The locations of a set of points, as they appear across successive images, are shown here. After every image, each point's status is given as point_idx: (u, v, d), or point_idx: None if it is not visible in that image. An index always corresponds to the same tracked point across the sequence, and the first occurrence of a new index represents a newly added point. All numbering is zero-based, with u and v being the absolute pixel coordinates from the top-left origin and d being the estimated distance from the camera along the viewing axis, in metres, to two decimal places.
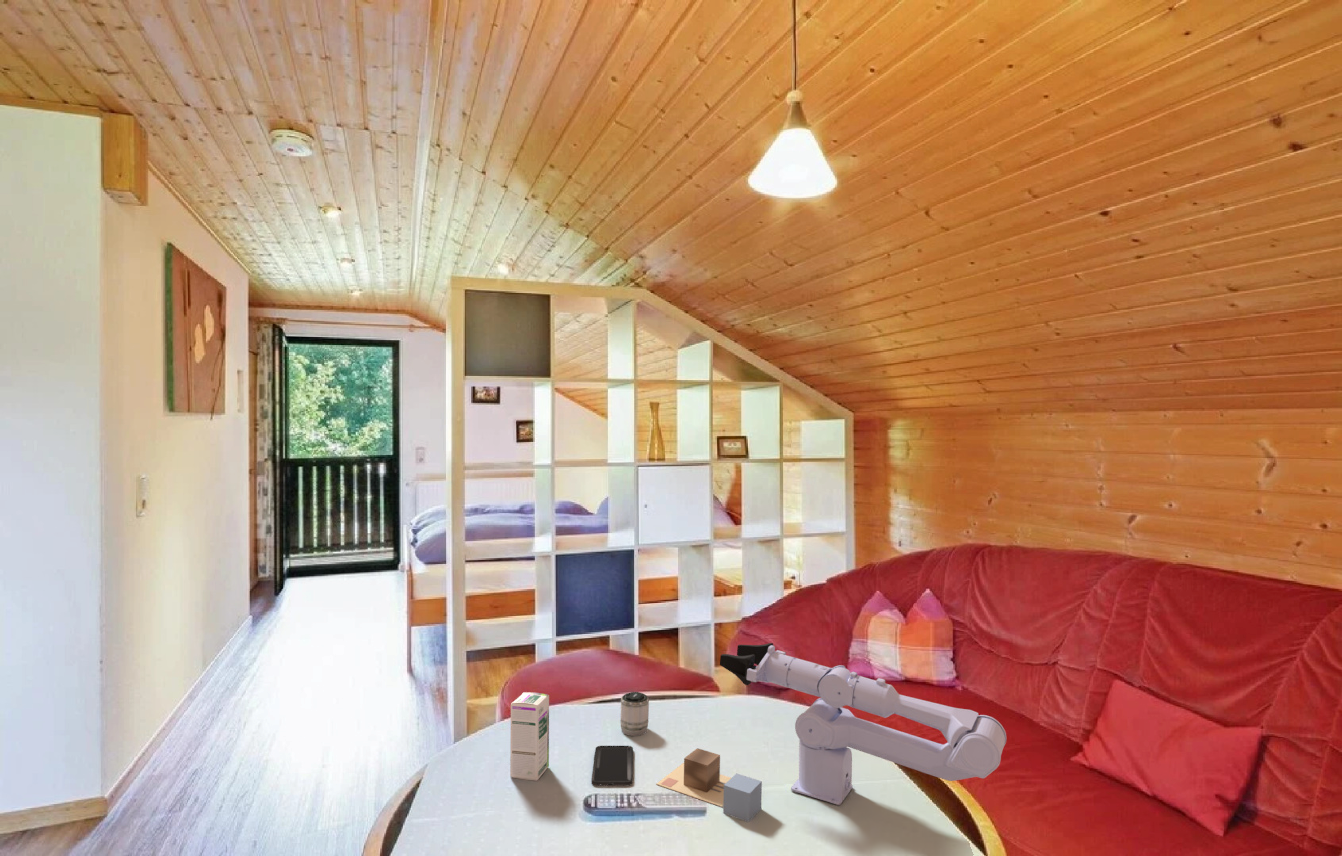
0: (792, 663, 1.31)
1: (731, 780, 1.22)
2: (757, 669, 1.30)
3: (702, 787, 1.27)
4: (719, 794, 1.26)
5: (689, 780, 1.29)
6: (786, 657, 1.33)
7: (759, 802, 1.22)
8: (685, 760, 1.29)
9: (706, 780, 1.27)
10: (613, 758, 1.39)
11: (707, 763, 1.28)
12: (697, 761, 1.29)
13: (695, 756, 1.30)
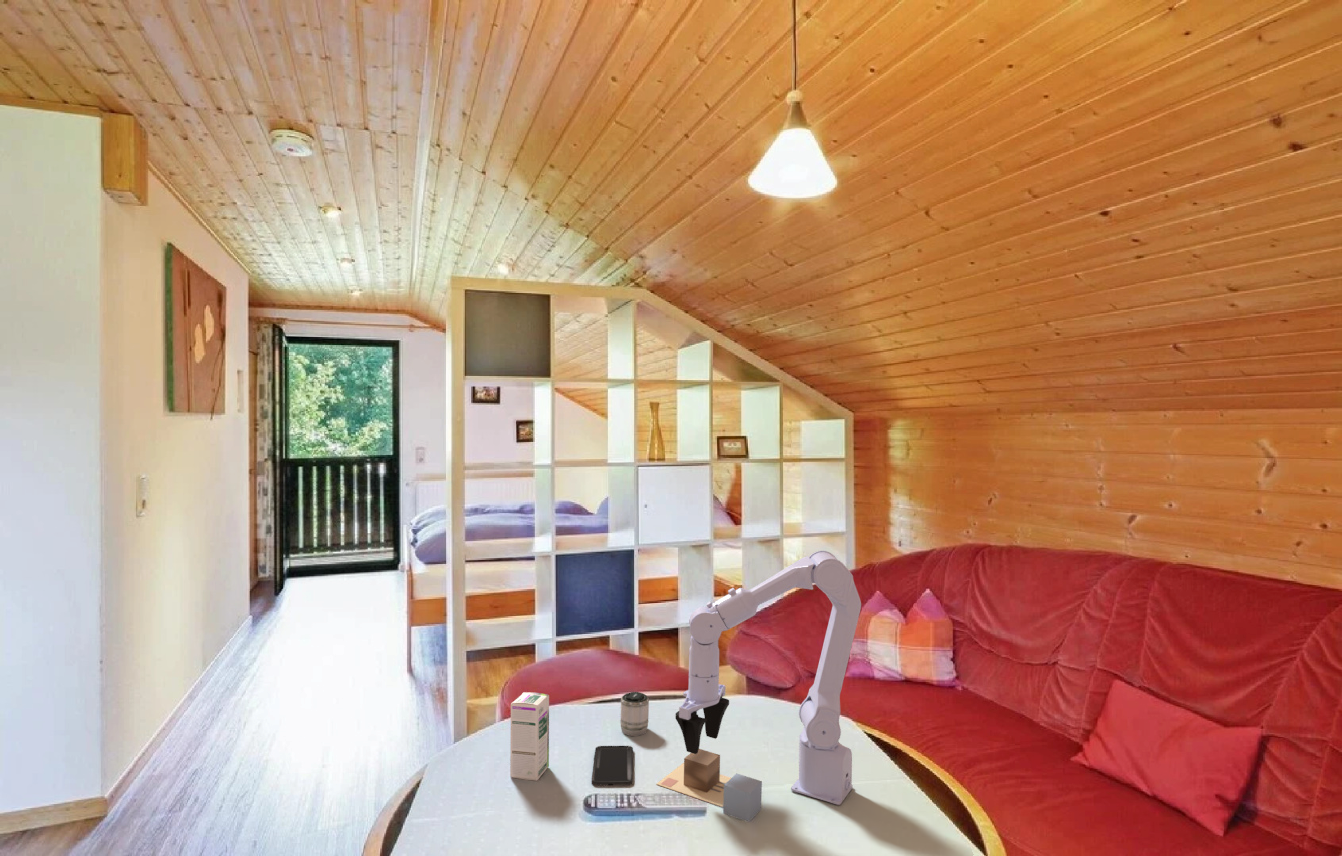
0: (691, 672, 1.29)
1: (731, 780, 1.22)
2: None
3: (702, 787, 1.27)
4: (719, 794, 1.26)
5: (689, 780, 1.29)
6: None
7: (759, 802, 1.22)
8: (685, 760, 1.29)
9: (706, 780, 1.27)
10: (613, 758, 1.39)
11: (707, 763, 1.28)
12: (697, 761, 1.29)
13: (695, 756, 1.30)
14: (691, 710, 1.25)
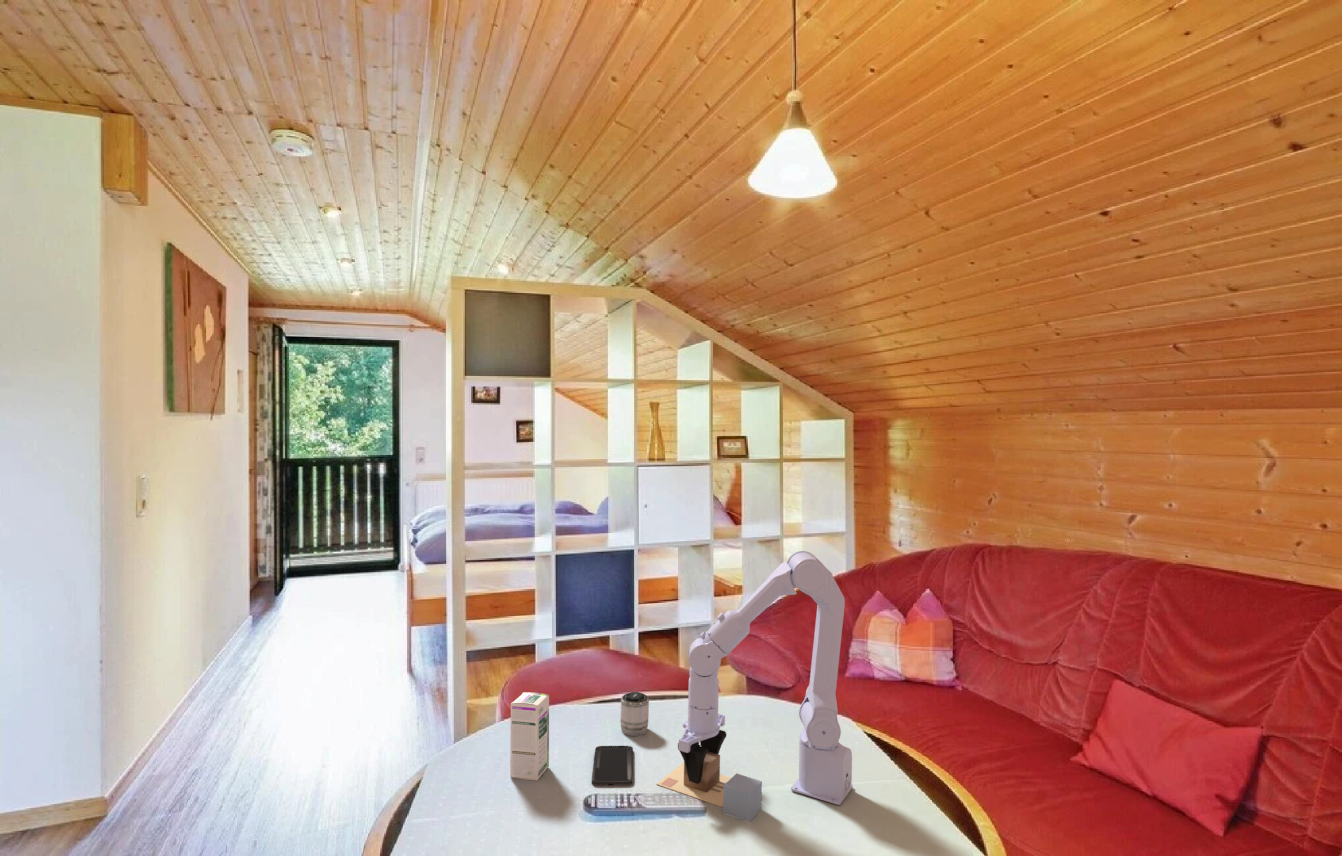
0: (690, 704, 1.29)
1: (731, 780, 1.22)
2: None
3: (702, 787, 1.27)
4: (719, 794, 1.26)
5: None
6: None
7: (759, 802, 1.22)
8: None
9: (706, 780, 1.27)
10: (613, 758, 1.39)
11: (707, 763, 1.28)
12: None
13: None
14: (690, 743, 1.25)
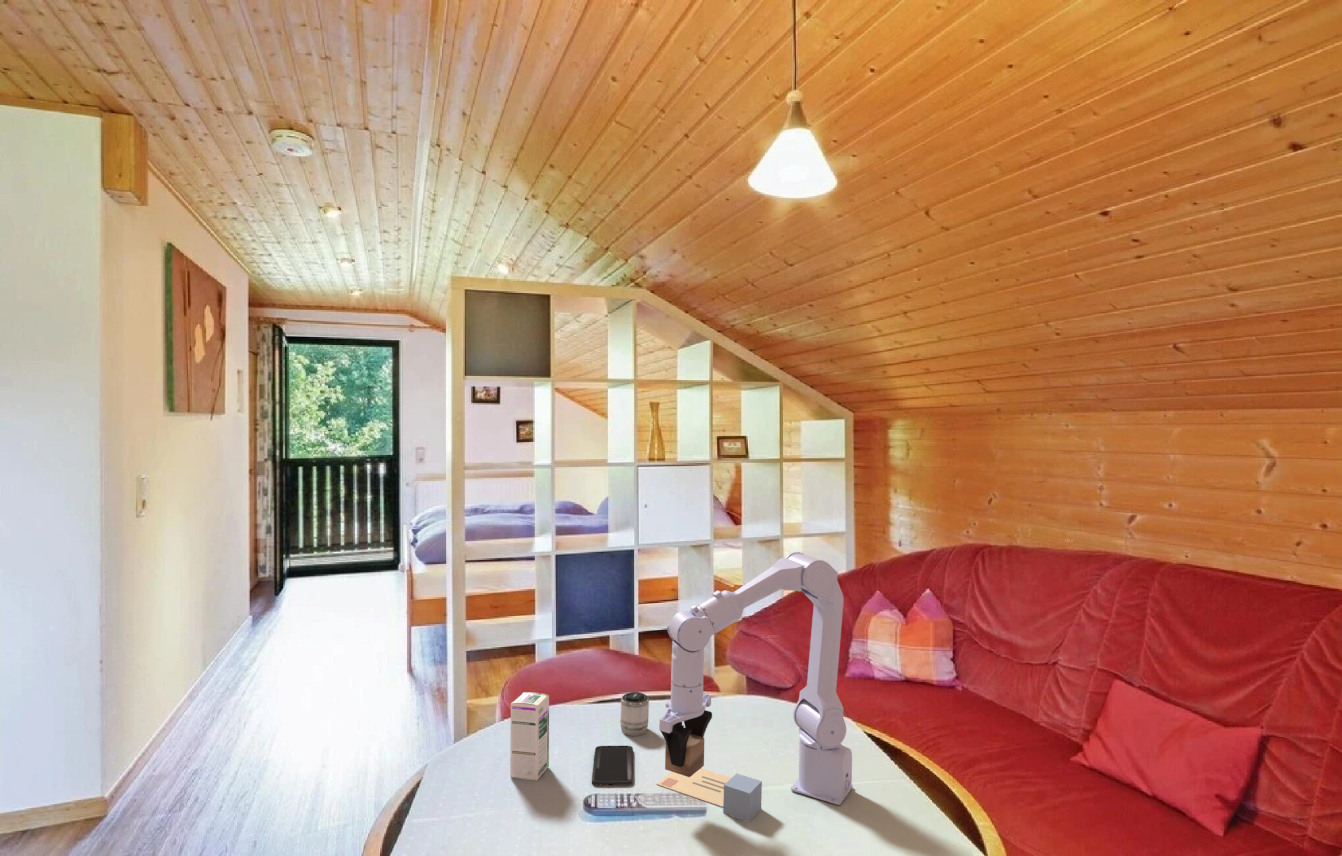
0: (677, 683, 1.19)
1: (731, 780, 1.22)
2: None
3: (684, 772, 1.19)
4: (719, 794, 1.26)
5: (671, 764, 1.20)
6: None
7: (759, 802, 1.22)
8: None
9: (689, 764, 1.18)
10: (613, 758, 1.39)
11: (690, 746, 1.19)
12: None
13: None
14: (672, 723, 1.16)
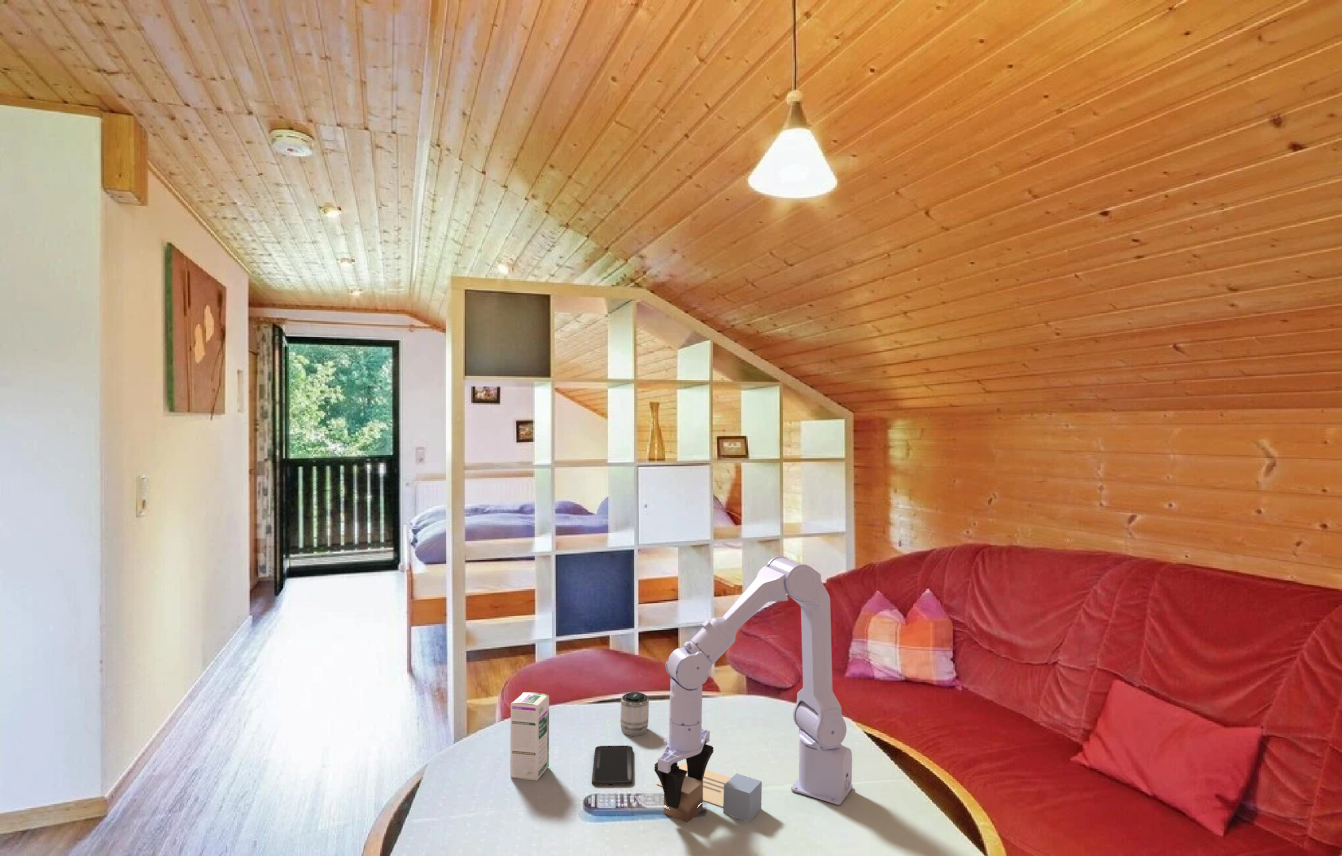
0: (675, 721, 1.19)
1: (731, 780, 1.22)
2: None
3: (683, 817, 1.18)
4: (719, 794, 1.26)
5: None
6: None
7: (759, 802, 1.22)
8: None
9: (687, 810, 1.18)
10: (612, 758, 1.39)
11: (688, 791, 1.18)
12: None
13: None
14: (671, 762, 1.15)
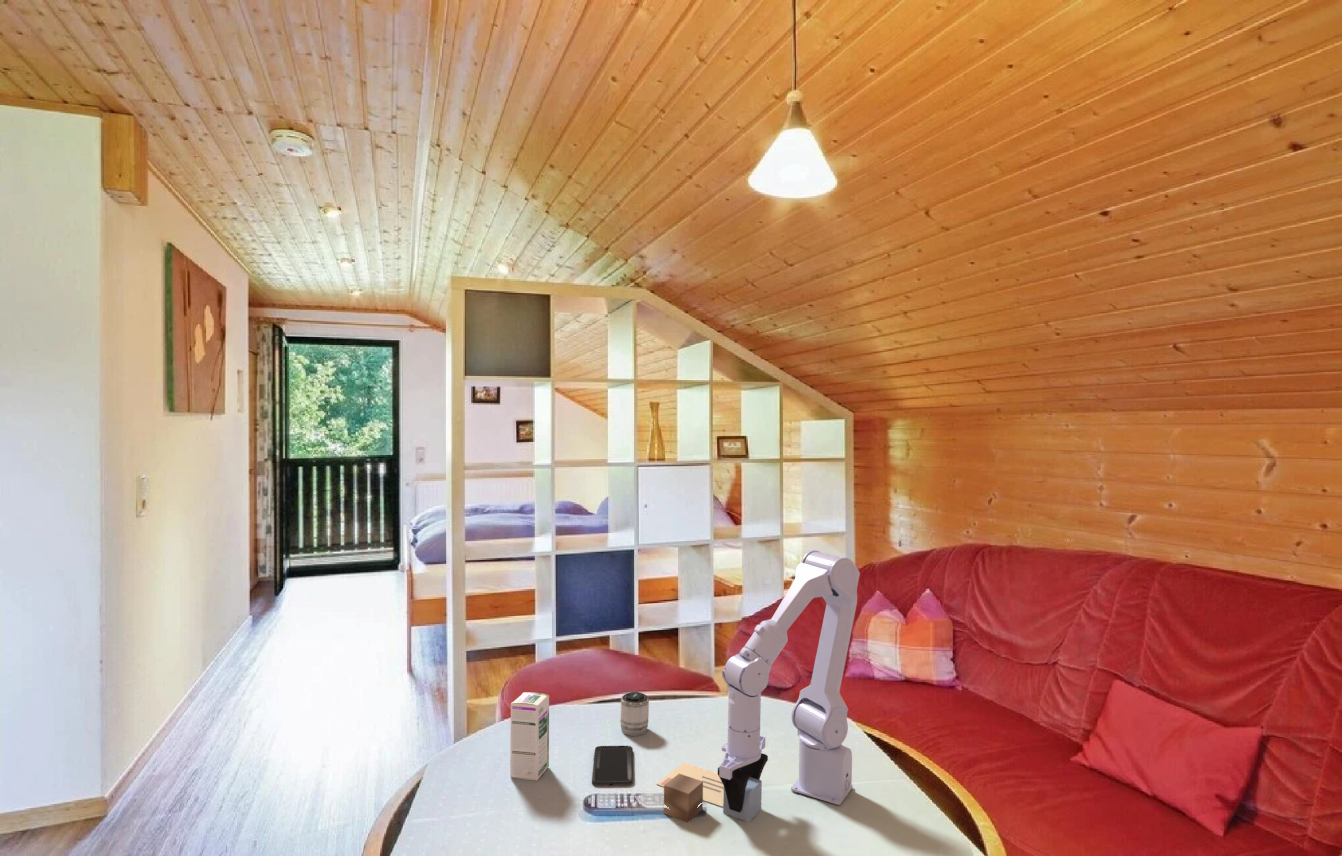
0: (737, 729, 1.19)
1: None
2: None
3: (683, 817, 1.18)
4: (719, 794, 1.26)
5: None
6: None
7: (759, 801, 1.22)
8: (665, 787, 1.20)
9: (687, 809, 1.18)
10: (612, 758, 1.39)
11: (688, 791, 1.18)
12: (678, 788, 1.19)
13: (676, 782, 1.21)
14: (732, 769, 1.16)
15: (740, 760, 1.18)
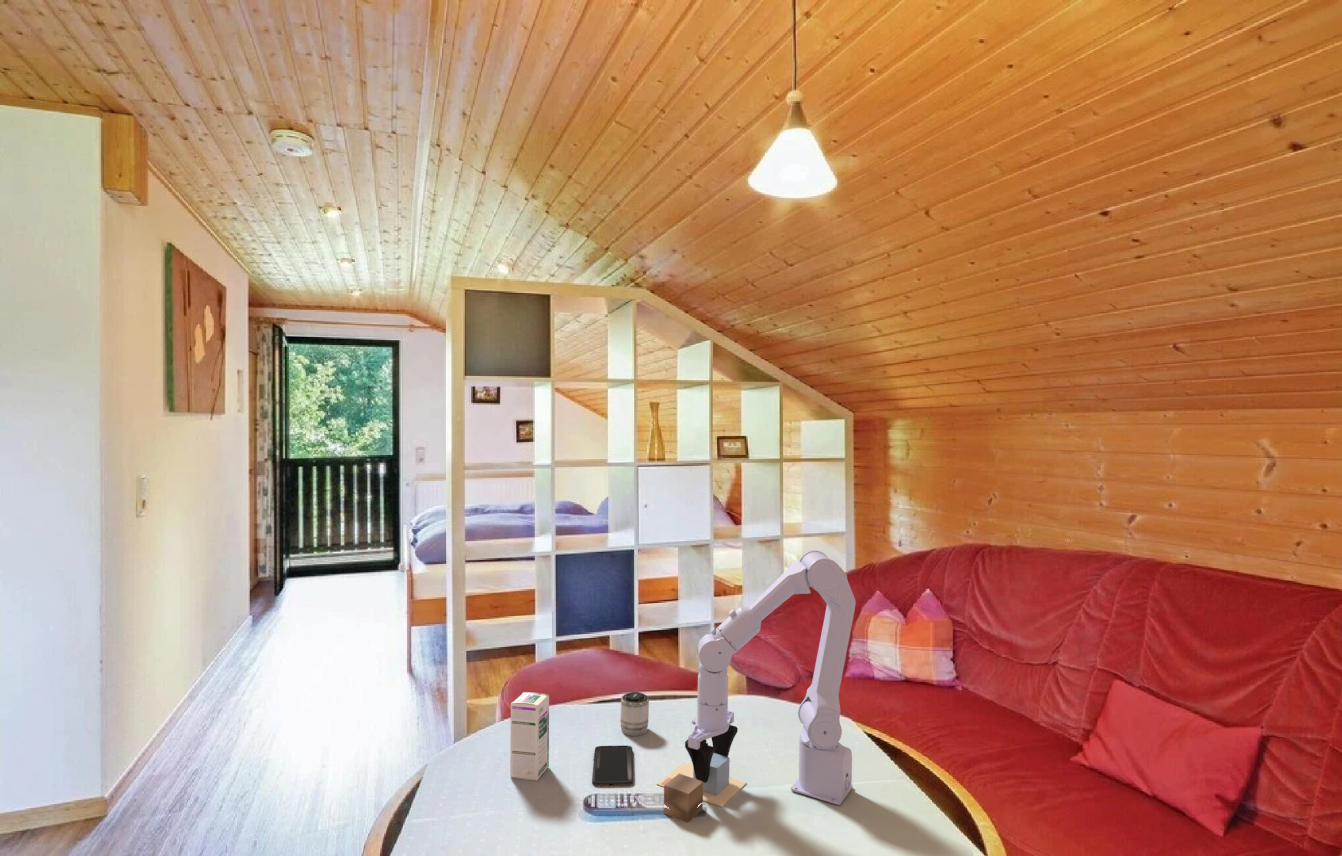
0: (700, 701, 1.28)
1: None
2: None
3: (683, 817, 1.18)
4: (719, 794, 1.26)
5: None
6: None
7: (727, 777, 1.29)
8: (665, 787, 1.20)
9: (687, 810, 1.18)
10: (612, 758, 1.39)
11: (688, 791, 1.18)
12: (678, 788, 1.19)
13: (676, 783, 1.21)
14: (700, 739, 1.23)
15: (708, 732, 1.26)
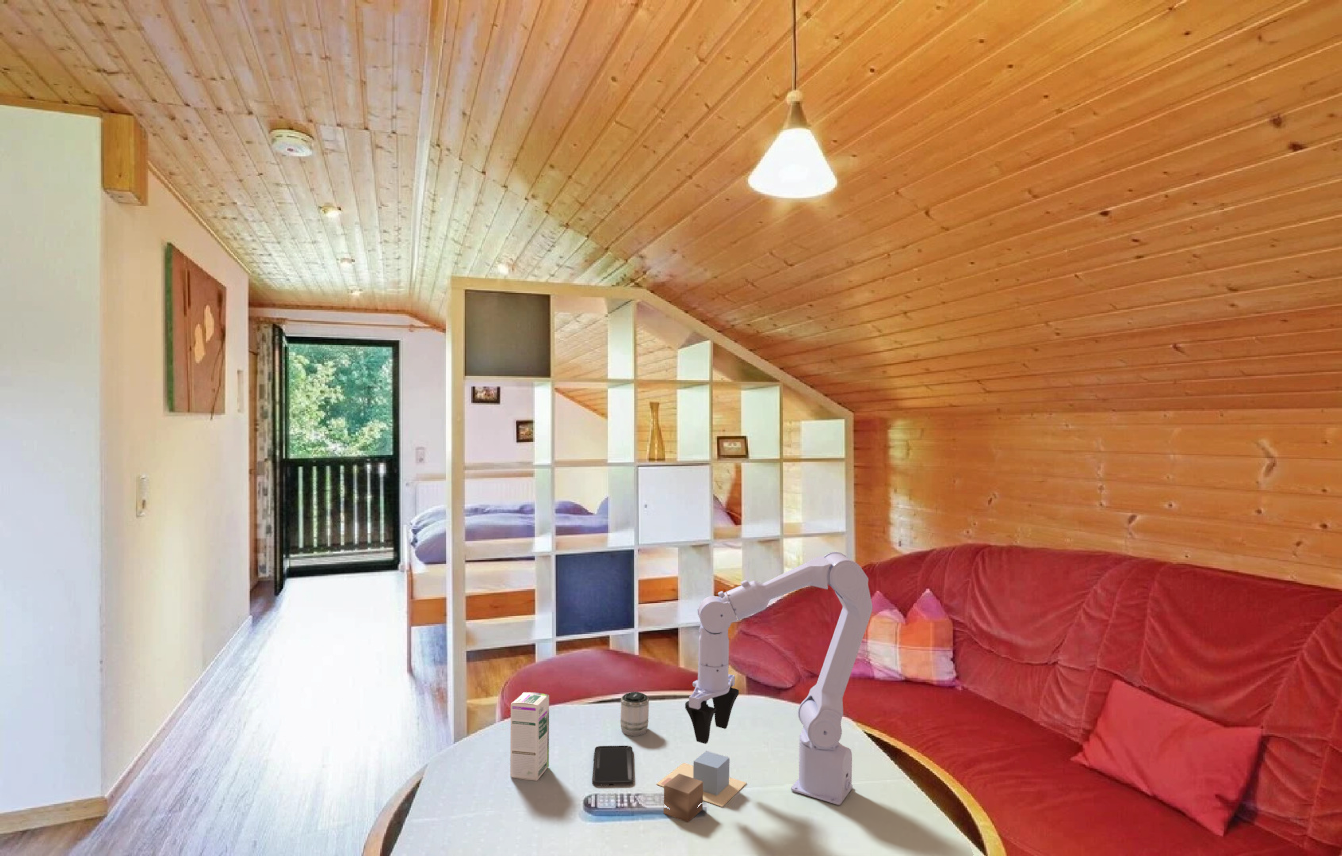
0: (701, 662, 1.28)
1: (701, 757, 1.30)
2: None
3: (683, 817, 1.18)
4: (719, 794, 1.26)
5: None
6: None
7: (727, 777, 1.29)
8: (665, 787, 1.20)
9: (687, 809, 1.18)
10: (612, 758, 1.39)
11: (688, 791, 1.18)
12: (678, 788, 1.19)
13: (676, 782, 1.21)
14: (701, 699, 1.24)
15: (709, 693, 1.26)
